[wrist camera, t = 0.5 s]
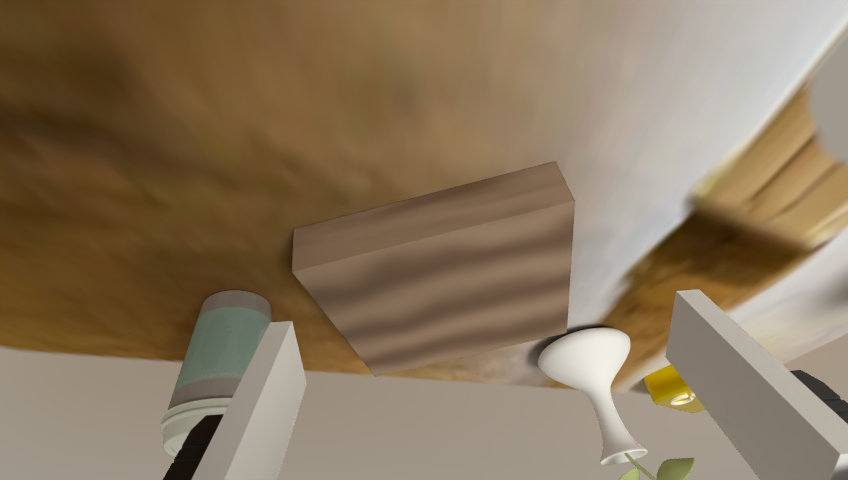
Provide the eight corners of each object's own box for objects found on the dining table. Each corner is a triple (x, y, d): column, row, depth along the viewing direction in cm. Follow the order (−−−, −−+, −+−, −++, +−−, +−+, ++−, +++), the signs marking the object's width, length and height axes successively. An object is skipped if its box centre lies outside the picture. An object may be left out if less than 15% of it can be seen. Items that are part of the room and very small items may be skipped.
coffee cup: (260, 338, 47) (249, 466, 39) (170, 318, 42) (137, 460, 34) (304, 296, 42) (301, 432, 35) (209, 269, 37) (181, 419, 30)
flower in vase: (548, 369, 64) (622, 595, 48) (521, 340, 56) (601, 601, 40) (643, 337, 60) (757, 571, 44) (630, 301, 52) (765, 573, 36)
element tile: (680, 389, 81) (694, 417, 78) (637, 376, 73) (650, 407, 70) (768, 353, 73) (788, 382, 70) (731, 334, 65) (751, 366, 62)
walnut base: (293, 229, 35) (291, 271, 32) (555, 161, 33) (574, 200, 31) (372, 341, 50) (375, 376, 48) (553, 299, 49) (566, 332, 46)
